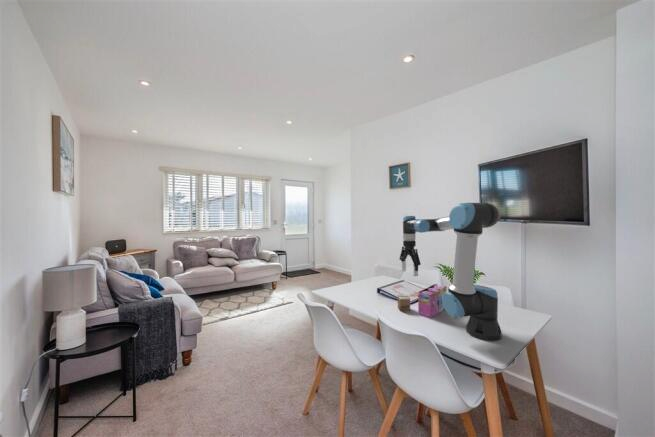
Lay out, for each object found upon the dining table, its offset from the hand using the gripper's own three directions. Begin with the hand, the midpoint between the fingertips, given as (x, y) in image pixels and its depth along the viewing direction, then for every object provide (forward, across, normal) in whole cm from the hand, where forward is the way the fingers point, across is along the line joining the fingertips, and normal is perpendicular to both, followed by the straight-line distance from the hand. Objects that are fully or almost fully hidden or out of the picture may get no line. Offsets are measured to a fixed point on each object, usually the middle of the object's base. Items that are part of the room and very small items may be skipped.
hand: (409, 273), depth 169 cm
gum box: (+21, -11, -9) cm, 26 cm away
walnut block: (+21, -4, +6) cm, 22 cm away
